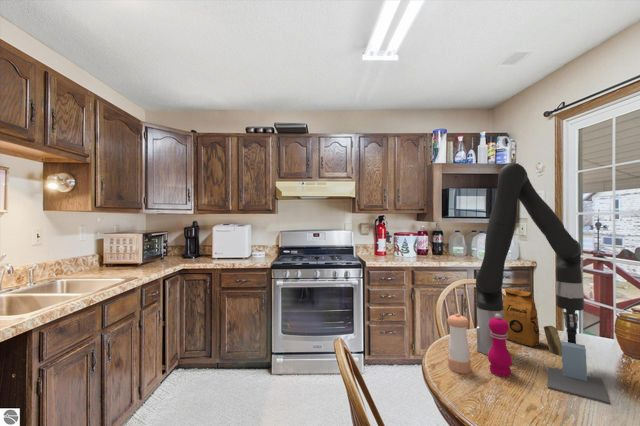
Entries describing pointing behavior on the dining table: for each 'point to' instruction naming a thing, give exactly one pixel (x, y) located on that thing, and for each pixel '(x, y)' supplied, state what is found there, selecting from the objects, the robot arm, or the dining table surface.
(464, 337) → the pepper shaker
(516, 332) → the coffee package
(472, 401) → the dining table surface
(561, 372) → the mat
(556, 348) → the rock
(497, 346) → the pepper mill
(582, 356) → the block
